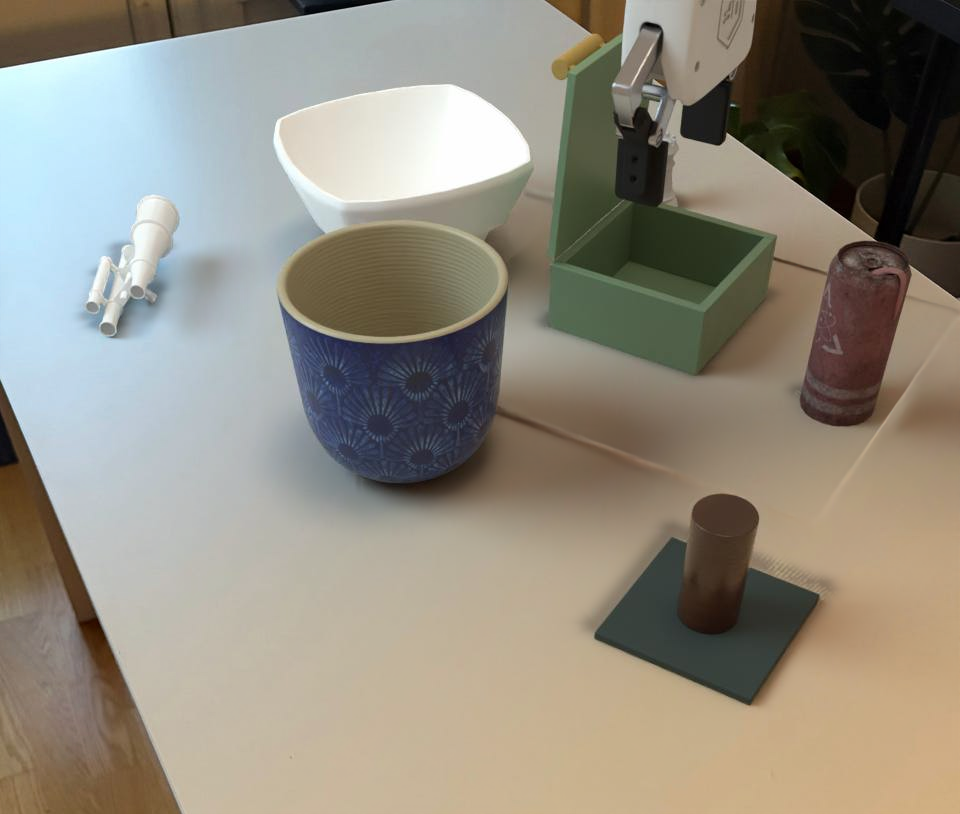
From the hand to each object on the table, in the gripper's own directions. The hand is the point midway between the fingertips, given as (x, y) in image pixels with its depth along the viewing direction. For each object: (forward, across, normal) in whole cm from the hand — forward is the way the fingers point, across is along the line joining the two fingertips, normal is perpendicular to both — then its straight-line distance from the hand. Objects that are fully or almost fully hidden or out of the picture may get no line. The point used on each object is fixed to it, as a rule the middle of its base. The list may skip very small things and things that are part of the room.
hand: (671, 169), depth 81 cm
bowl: (+24, +17, +34) cm, 45 cm away
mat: (+24, -14, -12) cm, 30 cm away
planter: (+24, -8, +18) cm, 31 cm away
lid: (+9, +20, +14) cm, 26 cm away
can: (+24, +14, -11) cm, 30 cm away
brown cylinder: (+23, -14, -12) cm, 30 cm away
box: (+24, +20, +8) cm, 32 cm away
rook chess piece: (+24, +37, +17) cm, 47 cm away
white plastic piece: (+24, -1, +52) cm, 58 cm away
